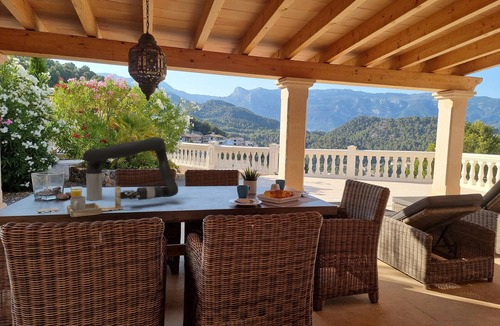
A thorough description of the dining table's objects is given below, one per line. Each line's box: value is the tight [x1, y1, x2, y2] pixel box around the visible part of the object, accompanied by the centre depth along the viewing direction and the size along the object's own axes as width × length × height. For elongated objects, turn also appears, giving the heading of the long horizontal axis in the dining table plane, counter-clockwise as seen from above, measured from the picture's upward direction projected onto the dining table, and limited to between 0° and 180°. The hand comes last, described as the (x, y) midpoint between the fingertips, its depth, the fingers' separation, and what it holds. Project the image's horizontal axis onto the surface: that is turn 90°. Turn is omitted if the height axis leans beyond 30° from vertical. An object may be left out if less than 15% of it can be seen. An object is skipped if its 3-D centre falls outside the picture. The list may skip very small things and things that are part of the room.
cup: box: [69, 195, 86, 211], centre depth 181 cm, size 7×10×9 cm
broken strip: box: [37, 207, 60, 213], centre depth 189 cm, size 5×26×1 cm, turn 127°
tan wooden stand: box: [66, 186, 124, 218], centre depth 187 cm, size 15×28×13 cm, turn 127°
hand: (118, 195), depth 194 cm, fingers open, 8 cm apart
